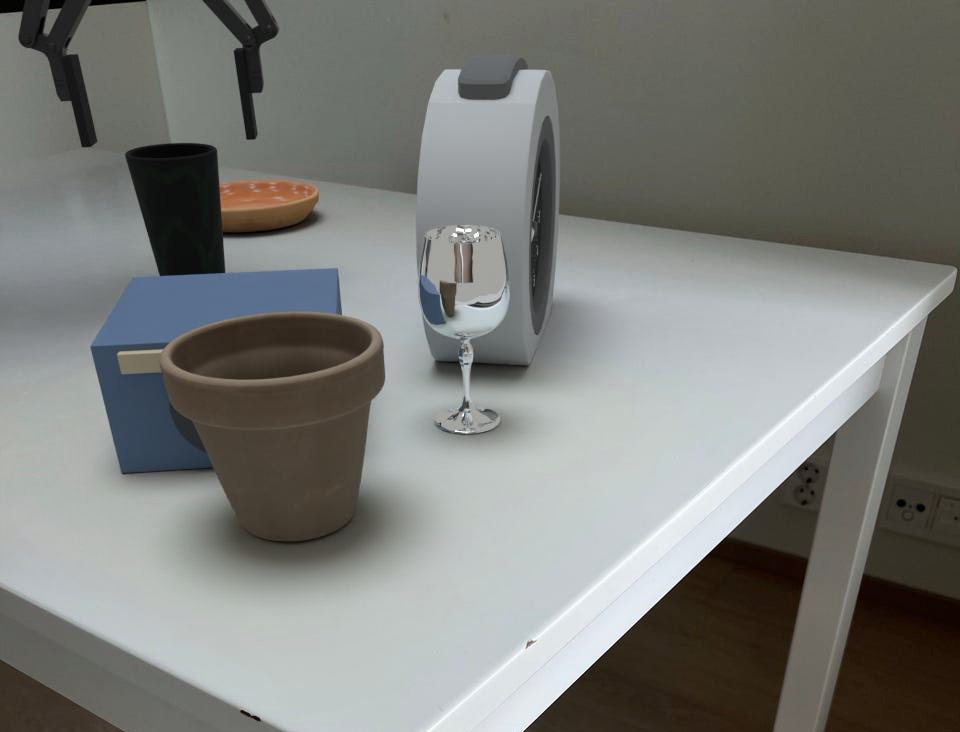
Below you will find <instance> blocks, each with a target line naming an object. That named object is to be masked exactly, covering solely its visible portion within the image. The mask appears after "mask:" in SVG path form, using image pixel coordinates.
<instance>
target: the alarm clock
mask: <svg viewBox="0 0 960 732" xmlns="http://www.w3.org/2000/svg"><path fill="white" fill-rule="evenodd" d="M528 68H529V65H528V62H527V61H526V60H525V59H524V58H523V57H522V56H521V55H520V54H480V53H479V54H478V53H477V54H473V55H472V56H471V57H469V58H468V60H466V61H465V62H464V64H463V66H462V68H459V69H457V68H456V69H453V68H451V69H448V68H447V69H444V70H443V71H442V73H440V75H439V76H438V78H437V79H436V80H435V82H434V84H433V88H432V91H431V94H430V98H429V100H428V103H427V108H426V113H425V119H424V124H423V129H422V133H421V142H420V150H419V160H418V171H417V183H416V185H417V187H416V208H415V240H416V242H415V243H416V244H415V245H416V248H415V249H416V272H417V276H418V275H419V265H420V258H421V252H422V247H423V241H424V236H425V233H426V232H427V231H429V230H432V229H435V228H438V227H444V226H451V225H481V226H487V227H492V228H495V229H497V230H499V231H500V232H501V236H502V240H503V244H504V248H505V253H506V257H507V262H508V268H509V276H510V302H509V308H508V311H507V314H506V316H505V318H504V320H503V321H502V323H501V324H500V325H499V326H498V327H497V328H496V329H495V330H494V331H492V332H491V333H489V334H487V335H485V336H482V337H480V338H477V339H472V340H470V344H471V346H472V348H473V354H474V355H473V362H472V364H489V365H509V366H530V365H531V364H532V361H533V359H534V356H535V353H536V351H537V349H538V346H539V343H540V342H541V338H542V336H543V333H544V331H545V328H546V326H547V323H548V321H549V319H550V316H551V314H552V313H551V312H552V306H553V298H554V291H555V290H554V287H555V280H556V279H555V277H556V267H557V254H558V241H559V223H560V222H559V220H560V197H561V196H560V194H561V193H560V191H561V190H560V187H561V180H560V179H561V149H560V148H561V144H560V143H561V142H560V141H561V140H560V134H561V133H560V120H559V119H560V118H559V106H558V98H557V92H556V91H557V89H556V84H555V81H554V78H553V75H552V72H551V70H546V69H528ZM421 317H422V322H423V329H424V334H425V338H426V341H427V345H428V347H429V352H430V354H431V356H432V358H433V359H434V361H436V362H449V363H450V362H451V363H460V362H459V356H458V353H459V346H460V345H461V340H456V339H452V338H449V337H446V336H444V335H442V334H440V333H438V332H437V331H435V330H434V329H432V328H431V326H430V325H429V324H428V323H427V322H426V320H425V318H424V316H423V314H422V313H421Z"/></svg>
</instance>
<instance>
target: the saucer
mask: <svg viewBox="0 0 960 732" xmlns="http://www.w3.org/2000/svg"><path fill="white" fill-rule="evenodd" d="M219 186H220V200H221V215H222V230H223V233H254V232H264V231H272V230H279V229H282V228H288V227H291V226H294V225H297V224H299V223H301V222H303V221H305V219H307V217H308V216H309V215H310V213H311V211H313V210H314V209H315V207H316V205H317V204H318V203H319V201H320V190H319V189H318V188H317V187H316V186H314V185H312V184H310V183H306V182H301V181H293V180H282V179H281V180H280V179H279V180H277V179H261V180H260V179H259V180H258V179H257V180H256V179H255V180H242V181H232V182H231V181H229V182H224V183H219Z"/></svg>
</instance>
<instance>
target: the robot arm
mask: <svg viewBox="0 0 960 732" xmlns="http://www.w3.org/2000/svg"><path fill="white" fill-rule="evenodd" d="M50 1H51V0H24V4H23V8H22V10H23V11H22V14H21V20H20V24H19V30H18V35H17V37H18V38H17V39H18V42H19V44H20V45H21V46H22V47H24V48H25V49H31V50H34V51H37V52H40V53H42V54H44V56H45V57H46V58H47V61H48V63H49V68H50V71H51V76H52V80H53V84H54V88H55V92H56V96H57V97H58V99H59V100H60V102H70V103H71V107H72V111H73V115H74V120H75V125H76V128H77V132H78V137H79V141H80V147H81V148H92V147H93V146H94V145H95V144H97V143H98V137H97V133H96V128H95V124H94V119H93V114H92V111H91V106H90V101H89V97H88V93H87V88H86V83H85V79H84V75H83V70H82V65H81V61H80V58H79V54H78V53H72V54H68V53H67V52H68V51H69V49H68V48H69V46H70V45H71V44H70V43H71V42H72V40H73V38H74V36H75V34H76V31H77V30H78V28H79V27H80V24H81V21H82V20H83V18H84V16H85V14H86V12H87V10H88V8H89V6H90V4H91V2H92V0H65V1H64V3H63V4H62V7H61V9H60V11H59V13H58V14H57V17H56V19H55V21H54V23H53V25H52V27H51V28H50V31H49V33H45V27H46V26H45V25H46V22H47V17H48V12H49V6H50ZM201 1H202V2H203V3H204V4H205V5H206V7H207V8H208V9H209V10H210V11H211V12H212V13H213V14H214V15H215V16H216V18H218V20H219V21H220V22H221V23H222V24H223V26H225V27H226V28H227V29H228V31H229V32H230V33H231V35H233V36H234V38H235V39H236V40H237V41H238V42H239V43H240V44H241V45H242V47H236V48H234V50H233V57H234V64H235V70H236V77H237V85H238V91H239V98H240V104H241V105H240V106H241V113H242V118H243V125H244V132H245V139H246V141H254V140H255V141H256V140H257V137H258V126H257V119H256V113H255V105H254V98H253V94H262V93H263V90H264V86H265V81H264V74H263V73H264V72H263V66H262V59H261V46H262V45H263V44H264V43H266V42H268V41H270V40H272V39H273V40H274V39H275V38H276V37H277V35H278V34H279V32H280V26H279V23H278V21H277V20H276V18H275V16H274V14H273V13H272V11H271V9H270V7H269V6H268V4H267V2H266V0H244V2H245V4H246V6H247V8H248V10H249V11H250V13H251V15H252V17H253V18H254V20H255V22H256V23H257V25H256V26H253V27H252V26H251V25H250V24H249V22H247V21H246V19H245V18H244V17H243V16H242V15H241V14H240V13H239V12H238V10H237V9H236V8H235V7H234V6H233V5H232V3H230V1H229V0H201Z"/></svg>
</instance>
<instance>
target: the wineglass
mask: <svg viewBox="0 0 960 732" xmlns="http://www.w3.org/2000/svg"><path fill="white" fill-rule="evenodd" d="M417 292H418V293H417V295H418V303H419V307H420V310H421V315H422V314H423V316H424V318H425V320H426V322H427V323H428V324H429V325H430V326H431V328H432V329H434V330H435V331H437V332H438V333H440V334H442V335H444V336H446V337H449V338H452V339H456V340H461V345H460V346H459V353H458V356H459V362H458V363H459V364H460V367H461V368H460V369H461V372H462V385H463V387H462V389H463V391H462V392H463V393H462V395H463V397H462V402H461V405H459V406H455V407H451V408H447V409H444V410H442V411H441V412H439V413H438V414H436V416H435V418H434V424H435V426H436V427H437V428H439V429H440V430H442V431H444V432H449V433H452V434H458V435H472V434H473V435H474V434H480V433H485V432H488V431H491V430H493V429H495V428H497V427H498V426H499V425H500V423H501V416H500V414H499V413H498V412H496V411H494V410H492V409H490V408H487V407H483V406H476V405H474V403H473V401H472V396H471V372H472V364H473V363H472V362H473V355H474V354H473V348H472V346H471V344H470V340H472V339H477V338H480V337H482V336H485V335H487V334H489V333H491V332H492V331H494V330H495V329H496V328H497V327H498V326H499V325H500V324H501V323H502V321H503V320H504V318H505V316H506V314H507V311H508V308H509V302H510V276H509V268H508V262H507V257H506V253H505V248H504V244H503V240H502V236H501V232H500V231H499V230H497V229H495V228H492V227H487V226H481V225H451V226H444V227H438V228H435V229H432V230H429V231H427V232H426V233H425V236H424V241H423V247H422V252H421V258H420V265H419V275H418V274H417Z"/></svg>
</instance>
